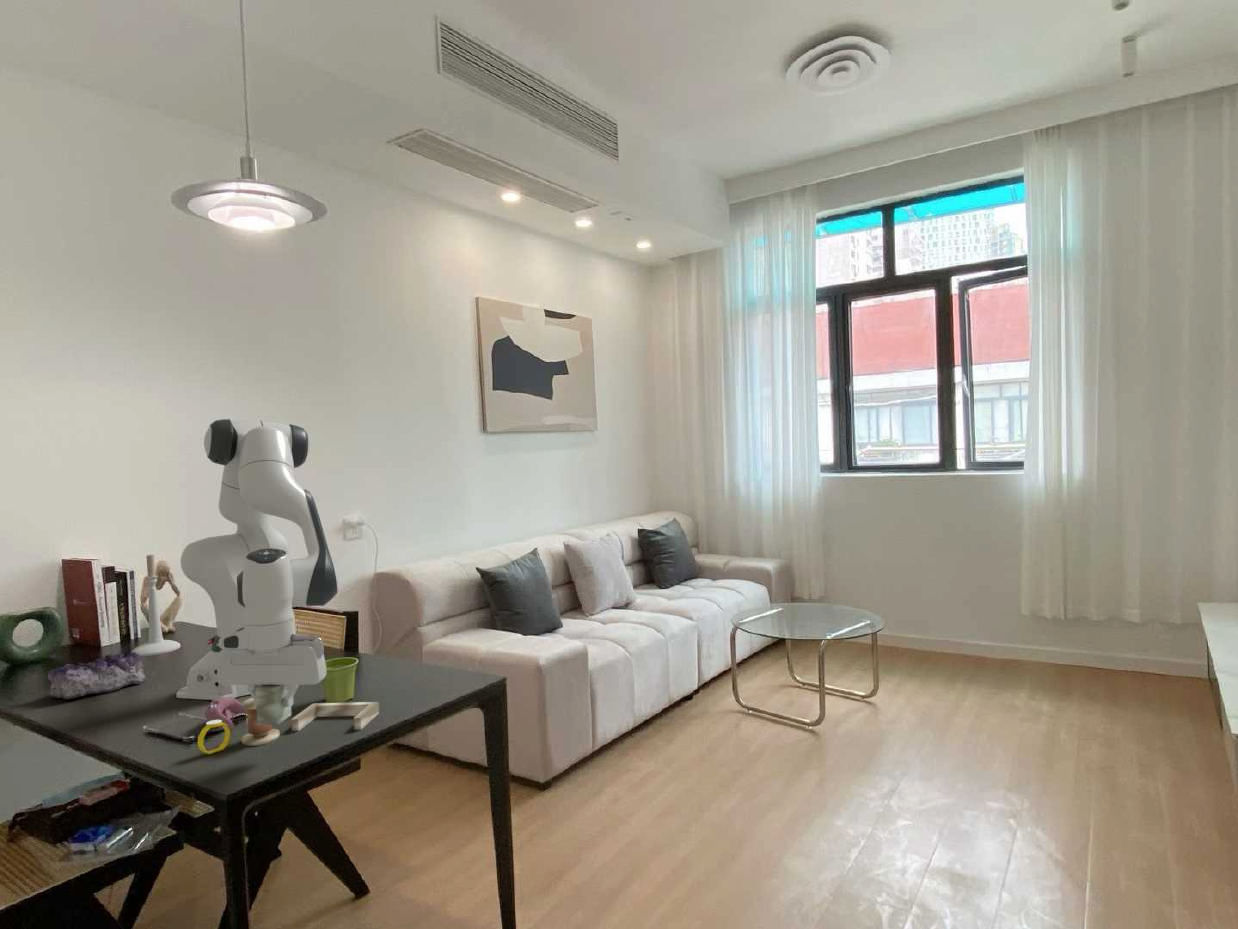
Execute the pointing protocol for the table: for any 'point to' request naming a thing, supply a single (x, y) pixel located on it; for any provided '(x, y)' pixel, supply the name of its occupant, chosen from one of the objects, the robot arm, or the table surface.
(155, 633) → the candlestick
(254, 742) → the bobbin
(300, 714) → the beige u-shaped bracket
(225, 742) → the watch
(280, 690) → the block
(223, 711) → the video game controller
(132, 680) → the geode
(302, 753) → the table surface
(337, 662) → the plant pot
